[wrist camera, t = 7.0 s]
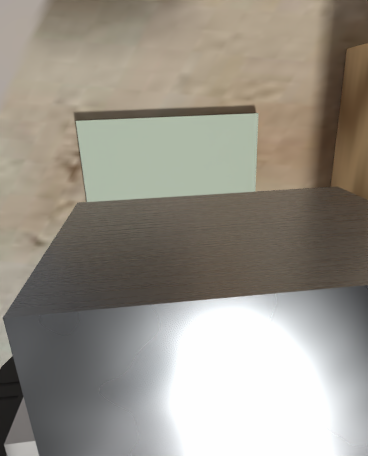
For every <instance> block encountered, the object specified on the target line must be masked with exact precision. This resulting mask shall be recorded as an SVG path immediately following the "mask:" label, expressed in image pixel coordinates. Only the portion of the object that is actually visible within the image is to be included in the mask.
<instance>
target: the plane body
mask: <svg viewBox="0 0 368 456" xmlns="http://www.w3.org/2000/svg"><path fill="white" fill-rule="evenodd" d="M337 186H338V187H340V188H342V189H344V190H347V191H349V192H351V193H353V194H356V195H358V196H360V197H362V198H365V199H367V200H368V43H367V44H363V45H359V46H355V47H351V48H347V52H346V60H345V69H344V77H343V86H342V94H341V103H340V111H339V120H338V128H337V137H336V145H335V154H334V162H333V171H332V179H331V187H337Z"/></svg>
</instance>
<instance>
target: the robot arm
mask: <svg viewBox="0 0 368 456" xmlns="http://www.w3.org/2000/svg"><path fill="white" fill-rule="evenodd" d="M0 456H39V454H38V450H37V446H36V442H35V438H34V434H33V431H32V427H31V423H30V419H29V415H28V412H27V408H26V404H25V400H24V396H23V393H22V389H21V385H20V381H19V377H18V373H17V370H16V366H15V362H14V358H13V356H12V357H11V358H10V359H9V360H8V361H7V362H6V363H5V364H4V365H3V366H2V367H1V369H0Z"/></svg>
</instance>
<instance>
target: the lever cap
mask: <svg viewBox="0 0 368 456" xmlns="http://www.w3.org/2000/svg"><path fill="white" fill-rule="evenodd" d="M3 320H4V324H5V328H6V332H7V335H8V339H9V343H10V347H11V351H12V354H13V358H14V362H15V366H16V370H17V373H18V377H19V381H20V385H21V389H22V393H23V396H24V400H25V404H26V408H27V412H28V415H29V419H30V423H31V427H32V431H33V434H34V438H35V442H36V446H37V450H38V454H39V456H368V200H367V199H365V198H362V197H360V196H358V195H356V194H353V193H351V192H349V191H347V190H344V189H342V188H340V187H338V186H337V187H321V188H305V189H289V190H273V191H257V192H241V193H225V194H209V195H193V196H177V197H161V198H145V199H129V200H113V201H97V202H81V203H77V204H76V206H75V208H74V209H73V211H72V212H71V214H70V215H69V217H68V218H67V220H66V221H65V223H64V225H63V226H62V228H61V229H60V231H59V232H58V234H57V235H56V237H55V238H54V240H53V241H52V243H51V245H50V246H49V248H48V249H47V251H46V252H45V254H44V255H43V257H42V258H41V260H40V262H39V263H38V265H37V266H36V268H35V269H34V271H33V272H32V274H31V275H30V277H29V279H28V280H27V282H26V283H25V285H24V286H23V288H22V289H21V291H20V292H19V294H18V295H17V297H16V299H15V300H14V302H13V303H12V305H11V306H10V308H9V309H8V311H7V312H6V314H5V316H4V317H3Z"/></svg>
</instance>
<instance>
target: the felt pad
mask: <svg viewBox="0 0 368 456" xmlns="http://www.w3.org/2000/svg"><path fill="white" fill-rule="evenodd" d="M76 127H77V134H78V141H79V148H80V155H81V163H82V170H83V177H84V184H85V191H86V199H87V202H97V201H113V200H129V199H145V198H161V197H177V196H193V195H209V194H225V193H241V192H255V186H256V160H257V134H258V113H247V114H223V115H199V116H175V117H152V118H128V119H104V120H80V121H76Z"/></svg>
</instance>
